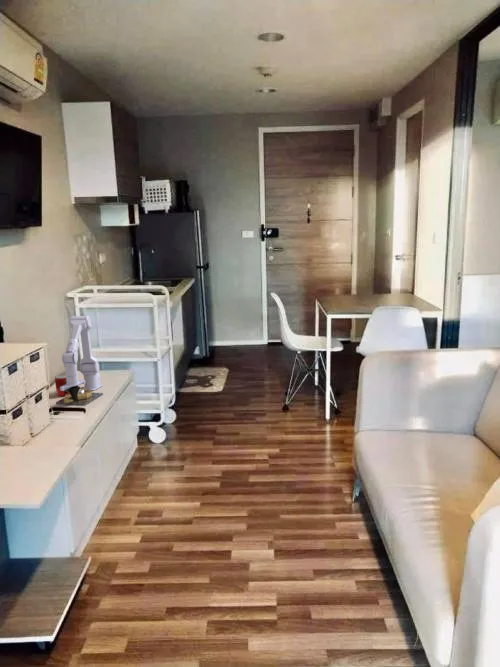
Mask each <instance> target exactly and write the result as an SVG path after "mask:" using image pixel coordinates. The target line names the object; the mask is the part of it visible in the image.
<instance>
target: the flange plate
mask: <svg viewBox="0 0 500 667" xmlns="http://www.w3.org/2000/svg"><path fill="white" fill-rule="evenodd" d="M81 393H85V392H84V390H79V391H78V394H81ZM103 395H104V393H103V392H92V396H91V397H89V398H86V399H80V400H76V401H72V402H69V403H64V398H66V397H68V396H70V395H65V397H62V398H61V399H59V400H57V401H56V402H55V404H56V405H67V406H68V405H69V406H70V405H72V406H87V405H88V404H90V403H91V402H93V401H95V400H97V399H98V398H100V397H102V396H103Z"/></svg>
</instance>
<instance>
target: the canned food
mask: <svg viewBox="0 0 500 667" xmlns="http://www.w3.org/2000/svg"><path fill="white" fill-rule="evenodd" d="M54 382H55V391H56V396H57V397H60V398H65V395H70V394H69V391H68V390H67V389H66V390H64V391H61V390H60V387H61V386H63V385H65V384H66V383H67V380H66V373H62V374H56V375H55V376H54Z"/></svg>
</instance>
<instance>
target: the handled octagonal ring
mask: <svg viewBox="0 0 500 667" xmlns="http://www.w3.org/2000/svg"><path fill="white" fill-rule="evenodd" d="M79 390H84V392H85V393H81V394H77V400H80V399H86V398H89V397H91V396H92V393H93V390H91V389H83V388H80V389H79ZM69 394H70V393H69ZM63 398H64V403H69V402H72V401H74V400H73V399H72V396H71V394H70V396H68V397H66V398H65V397H63Z"/></svg>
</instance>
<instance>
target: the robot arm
mask: <svg viewBox="0 0 500 667" xmlns="http://www.w3.org/2000/svg"><path fill="white" fill-rule="evenodd" d="M69 324H70V328H71V334H70V339H69V340H68V341H67V345H66V349H65V352H63V354H62V357H61V358H62V359H61V360H62V363H63V367H64V368H65V374H66V380H67V383H66V384H65V385H63V386H61V387H60V390H61V391H64V390H66V389H67V390H68V391H69V393H70V394H71V396H72V399H73V400H74V401H76V400H77V394H78V391H79V389H81V386H80V385H84V387H83V388H82V389H91V391H96V390H98V389H99V388H102V387H103V385H102V382H101V374H100V373H99V372H100V364H99V360H98V359H99V358H97V357H94V356H93V352H92V344H91V343H92V342H91V335H90V334H91V333H90V329H92V328H93V327H92V326H93V325H92V318H91V317H90V316H89V315H78V316H77V315H72V316H71V317H70V318H69ZM79 338H80V342H81V350H82V351H81V352H82V358H81V359H80V360H79V352H78V351H79V347H80V342H79ZM78 360H79V366H78ZM78 368H79V369H78ZM78 370H79V372H80V373H81V375H82V376H83V379H80V380H79V374H78Z"/></svg>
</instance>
